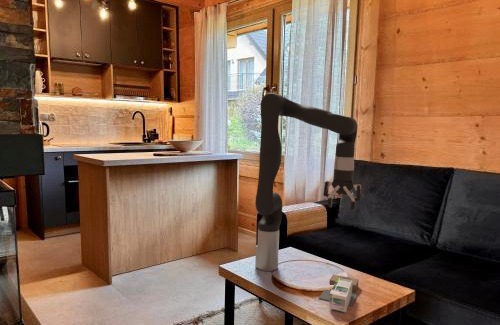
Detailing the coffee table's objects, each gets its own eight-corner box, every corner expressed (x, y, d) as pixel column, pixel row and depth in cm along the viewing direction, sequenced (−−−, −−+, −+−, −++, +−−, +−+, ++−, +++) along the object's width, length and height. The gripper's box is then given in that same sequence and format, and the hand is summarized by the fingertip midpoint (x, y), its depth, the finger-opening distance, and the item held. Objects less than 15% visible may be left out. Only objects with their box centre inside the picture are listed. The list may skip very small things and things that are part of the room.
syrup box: (352, 280, 136) (346, 296, 122) (351, 295, 136) (345, 313, 123) (337, 277, 138) (329, 292, 125) (336, 292, 138) (328, 309, 125)
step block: (329, 287, 143) (329, 279, 143) (332, 281, 149) (333, 274, 149) (355, 292, 139) (356, 285, 139) (358, 286, 145) (358, 279, 144)
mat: (319, 299, 134) (319, 297, 134) (326, 287, 143) (326, 286, 143) (352, 306, 128) (352, 305, 128) (358, 293, 138) (358, 292, 138)
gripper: (323, 167, 144) (320, 208, 145) (360, 171, 137) (357, 213, 139) (328, 165, 150) (325, 204, 152) (364, 169, 144) (361, 209, 146)
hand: (341, 208), depth 146 cm, fingers open, 8 cm apart
